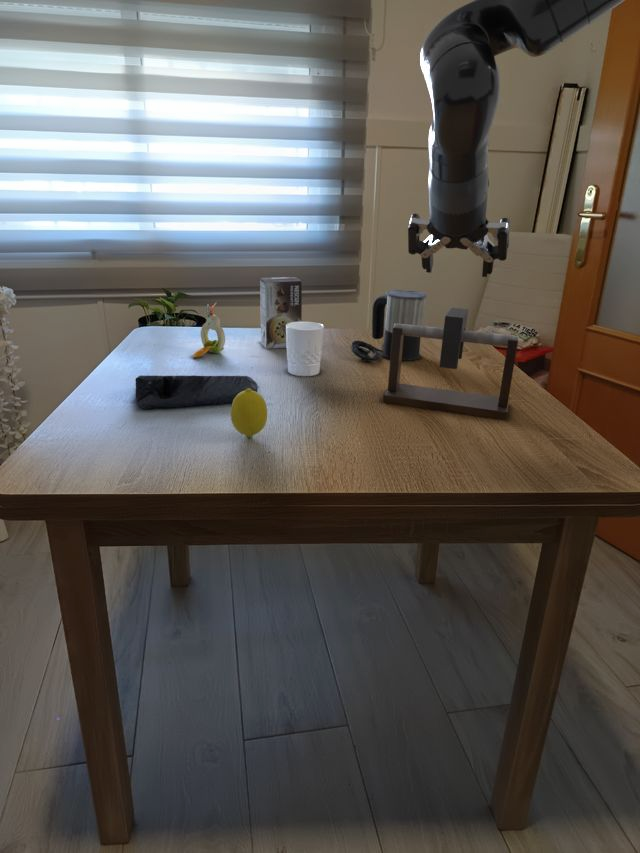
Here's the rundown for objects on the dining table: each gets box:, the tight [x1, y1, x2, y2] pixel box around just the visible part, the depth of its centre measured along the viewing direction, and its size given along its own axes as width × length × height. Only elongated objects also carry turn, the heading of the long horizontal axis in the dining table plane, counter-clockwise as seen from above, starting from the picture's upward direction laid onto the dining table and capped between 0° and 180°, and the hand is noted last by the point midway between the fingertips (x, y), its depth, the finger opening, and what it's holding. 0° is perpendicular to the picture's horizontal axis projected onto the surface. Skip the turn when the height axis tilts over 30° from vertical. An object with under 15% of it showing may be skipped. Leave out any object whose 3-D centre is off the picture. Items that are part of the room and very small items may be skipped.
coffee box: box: [259, 276, 303, 350], centre depth 139 cm, size 9×6×16 cm
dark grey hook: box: [438, 307, 469, 370], centre depth 102 cm, size 3×8×9 cm, turn 160°
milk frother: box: [350, 289, 428, 362], centre depth 132 cm, size 14×16×15 cm
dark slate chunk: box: [135, 374, 259, 410], centre depth 105 cm, size 15×22×5 cm
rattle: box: [192, 301, 226, 359], centre depth 131 cm, size 8×8×12 cm
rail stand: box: [382, 323, 520, 421], centre depth 104 cm, size 22×8×14 cm, turn 71°
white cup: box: [286, 320, 325, 377], centre depth 120 cm, size 8×8×10 cm
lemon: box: [230, 388, 268, 439], centre depth 88 cm, size 6×6×8 cm
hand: (457, 270), depth 89 cm, fingers open, 8 cm apart
